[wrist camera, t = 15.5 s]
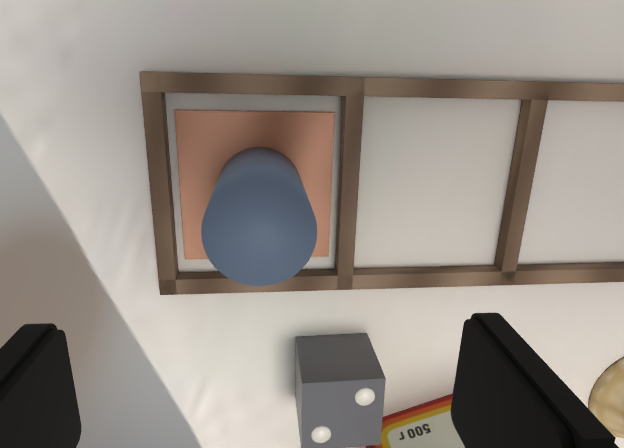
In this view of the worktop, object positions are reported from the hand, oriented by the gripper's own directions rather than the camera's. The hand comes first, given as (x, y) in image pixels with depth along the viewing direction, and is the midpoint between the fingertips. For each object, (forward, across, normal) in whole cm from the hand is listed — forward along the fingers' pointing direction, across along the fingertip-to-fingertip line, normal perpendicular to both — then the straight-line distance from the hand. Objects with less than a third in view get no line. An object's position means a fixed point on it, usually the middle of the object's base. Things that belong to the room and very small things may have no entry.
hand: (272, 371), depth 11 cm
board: (+18, -10, 0) cm, 21 cm away
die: (+18, -4, +13) cm, 23 cm away
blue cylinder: (+18, +1, 0) cm, 18 cm away
